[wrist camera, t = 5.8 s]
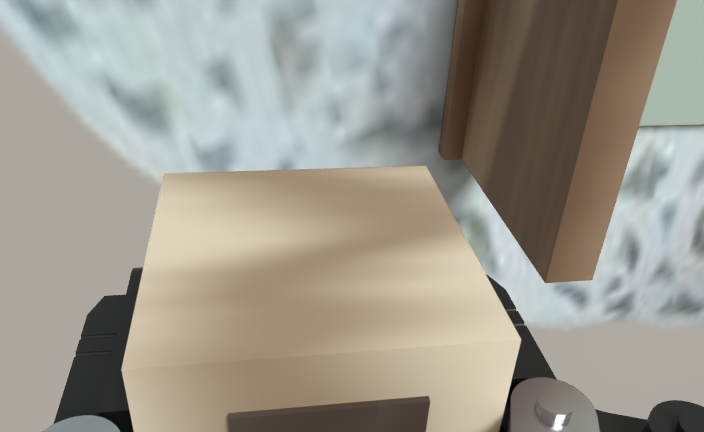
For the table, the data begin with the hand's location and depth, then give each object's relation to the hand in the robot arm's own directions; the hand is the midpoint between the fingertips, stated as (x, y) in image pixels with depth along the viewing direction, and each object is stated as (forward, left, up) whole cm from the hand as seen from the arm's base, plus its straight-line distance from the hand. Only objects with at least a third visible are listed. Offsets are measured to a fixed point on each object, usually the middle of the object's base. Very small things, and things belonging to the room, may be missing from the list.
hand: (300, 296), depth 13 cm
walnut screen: (-11, 0, -20) cm, 23 cm away
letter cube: (0, 0, -1) cm, 1 cm away
